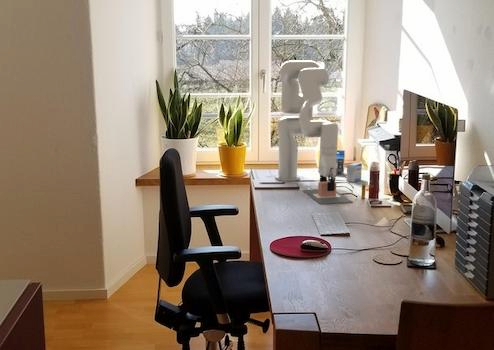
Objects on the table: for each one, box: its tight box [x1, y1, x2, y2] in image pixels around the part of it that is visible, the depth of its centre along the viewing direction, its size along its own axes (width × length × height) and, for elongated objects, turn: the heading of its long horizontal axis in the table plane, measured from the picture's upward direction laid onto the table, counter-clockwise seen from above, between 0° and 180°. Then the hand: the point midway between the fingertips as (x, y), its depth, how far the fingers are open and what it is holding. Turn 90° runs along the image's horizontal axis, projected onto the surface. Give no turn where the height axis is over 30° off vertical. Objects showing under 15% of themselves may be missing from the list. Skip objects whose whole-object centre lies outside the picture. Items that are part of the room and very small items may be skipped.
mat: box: [302, 188, 354, 205], centre depth 259 cm, size 24×15×1 cm, turn 13°
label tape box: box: [336, 149, 346, 175], centre depth 306 cm, size 9×4×12 cm, turn 73°
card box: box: [317, 180, 337, 197], centre depth 258 cm, size 7×4×6 cm, turn 103°
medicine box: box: [346, 162, 363, 183], centre depth 290 cm, size 8×4×9 cm, turn 143°
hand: (326, 188), depth 258 cm, fingers open, 9 cm apart
